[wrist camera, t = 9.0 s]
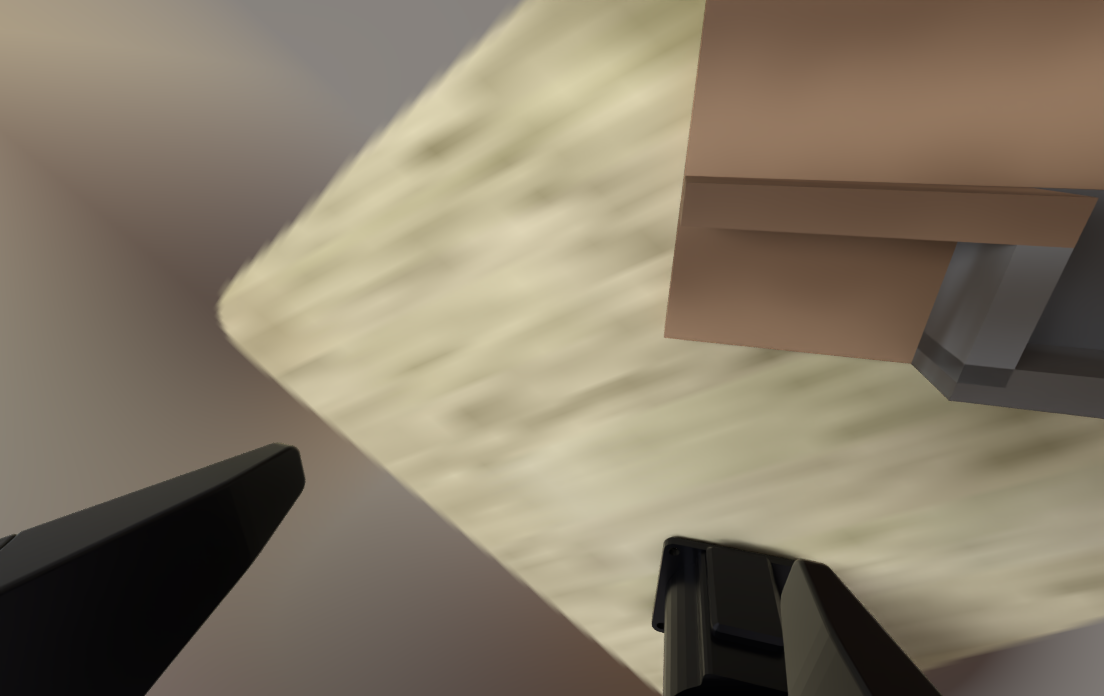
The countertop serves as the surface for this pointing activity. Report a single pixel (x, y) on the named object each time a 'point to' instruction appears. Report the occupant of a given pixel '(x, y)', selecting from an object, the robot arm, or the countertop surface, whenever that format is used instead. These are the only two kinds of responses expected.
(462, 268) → the countertop surface
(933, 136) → the trap lane
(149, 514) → the robot arm
